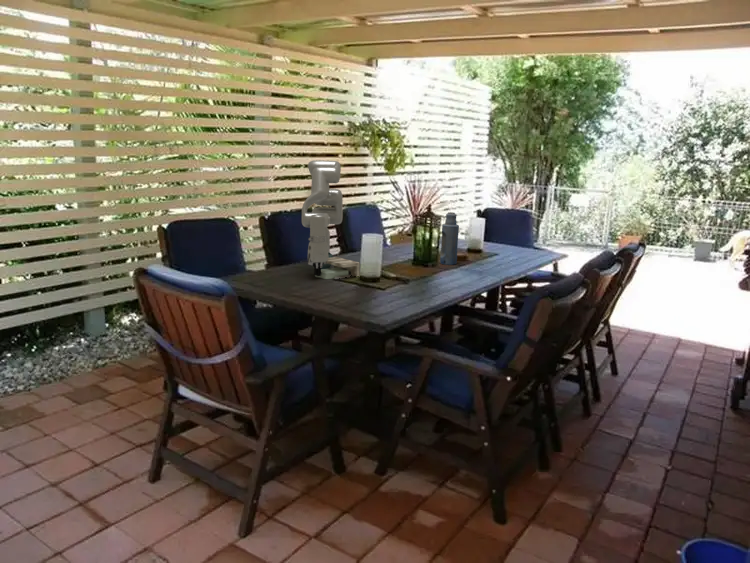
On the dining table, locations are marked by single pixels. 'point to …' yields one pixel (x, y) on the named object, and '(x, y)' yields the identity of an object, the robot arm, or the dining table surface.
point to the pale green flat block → (332, 273)
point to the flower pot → (326, 266)
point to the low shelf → (345, 266)
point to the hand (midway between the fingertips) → (317, 275)
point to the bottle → (449, 240)
